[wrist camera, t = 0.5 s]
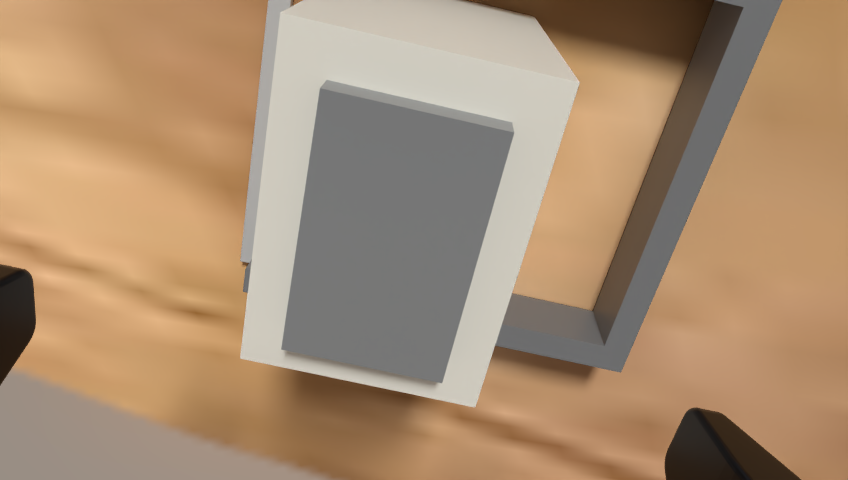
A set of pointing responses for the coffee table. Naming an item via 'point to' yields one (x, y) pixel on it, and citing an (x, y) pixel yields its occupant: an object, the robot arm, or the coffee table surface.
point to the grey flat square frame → (654, 208)
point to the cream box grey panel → (400, 189)
